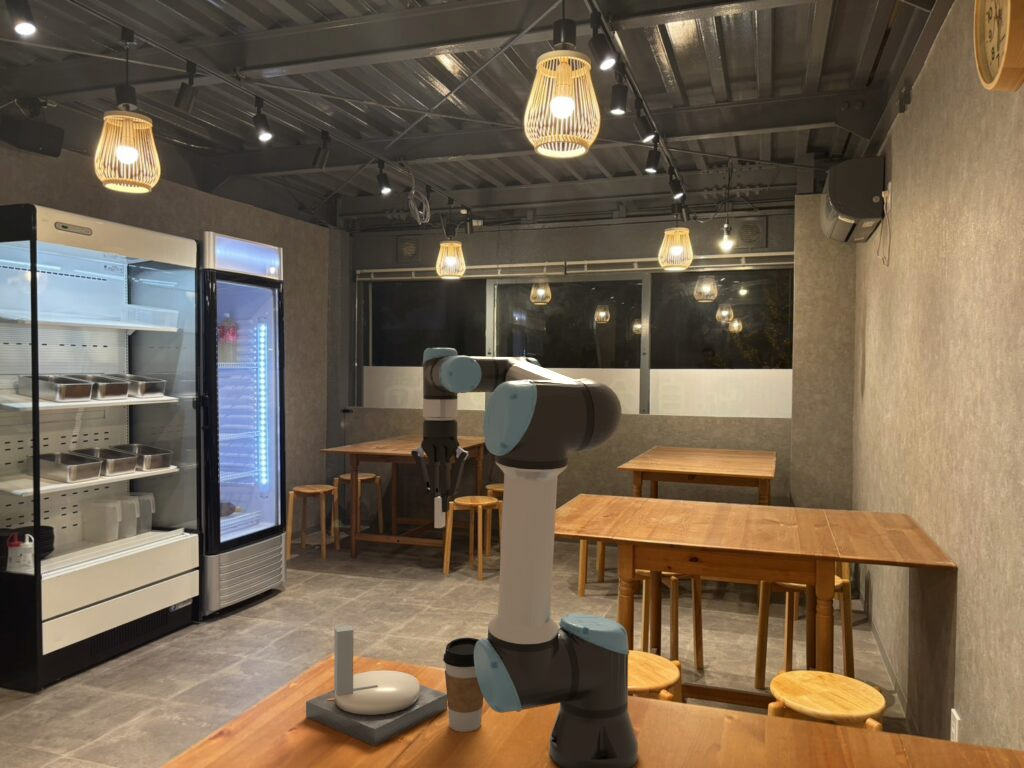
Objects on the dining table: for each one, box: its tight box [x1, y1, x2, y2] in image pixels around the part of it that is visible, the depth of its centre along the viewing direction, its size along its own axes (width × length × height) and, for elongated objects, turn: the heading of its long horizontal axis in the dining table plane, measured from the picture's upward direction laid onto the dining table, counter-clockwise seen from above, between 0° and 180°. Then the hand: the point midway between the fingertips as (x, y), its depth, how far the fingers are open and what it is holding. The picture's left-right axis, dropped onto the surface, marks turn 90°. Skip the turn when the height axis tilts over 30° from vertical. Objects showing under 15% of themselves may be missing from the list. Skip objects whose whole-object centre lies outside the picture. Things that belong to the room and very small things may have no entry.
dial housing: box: [305, 684, 448, 747], centre depth 147 cm, size 19×19×3 cm
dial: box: [333, 624, 420, 715], centre depth 147 cm, size 16×16×14 cm
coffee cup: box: [442, 637, 484, 733], centre depth 142 cm, size 8×8×15 cm
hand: (439, 526), depth 166 cm, fingers closed
